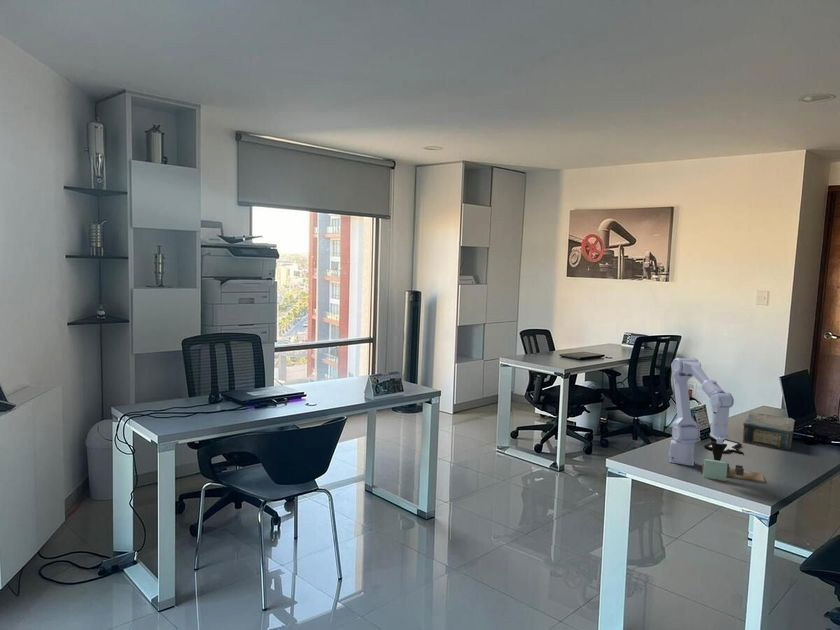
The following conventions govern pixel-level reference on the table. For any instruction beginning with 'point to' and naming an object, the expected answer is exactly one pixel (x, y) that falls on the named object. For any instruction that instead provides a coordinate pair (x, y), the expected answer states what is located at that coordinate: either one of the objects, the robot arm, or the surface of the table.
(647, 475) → the table surface
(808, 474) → the table surface
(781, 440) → the metal box
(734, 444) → the decorative sign
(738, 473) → the rail
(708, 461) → the door panel
